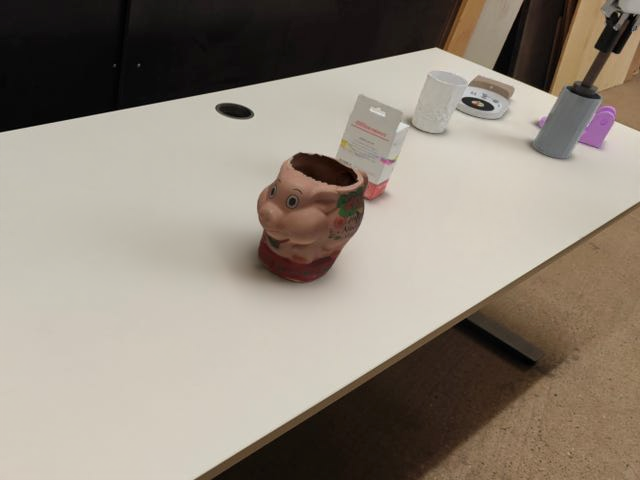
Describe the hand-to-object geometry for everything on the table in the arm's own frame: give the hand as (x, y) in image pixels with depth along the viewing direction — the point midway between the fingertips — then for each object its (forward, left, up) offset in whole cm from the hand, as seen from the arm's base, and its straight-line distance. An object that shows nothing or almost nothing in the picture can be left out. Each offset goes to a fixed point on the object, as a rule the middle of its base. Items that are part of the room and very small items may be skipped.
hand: (606, 50), depth 125 cm
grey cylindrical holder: (0, 0, -20) cm, 20 cm away
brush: (0, 0, -11) cm, 11 cm away
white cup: (+10, +24, -20) cm, 33 cm away
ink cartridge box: (-14, +54, -20) cm, 59 cm away
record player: (+23, +1, -20) cm, 30 cm away
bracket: (+8, -12, -20) cm, 25 cm away
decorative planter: (-34, +74, -20) cm, 84 cm away
